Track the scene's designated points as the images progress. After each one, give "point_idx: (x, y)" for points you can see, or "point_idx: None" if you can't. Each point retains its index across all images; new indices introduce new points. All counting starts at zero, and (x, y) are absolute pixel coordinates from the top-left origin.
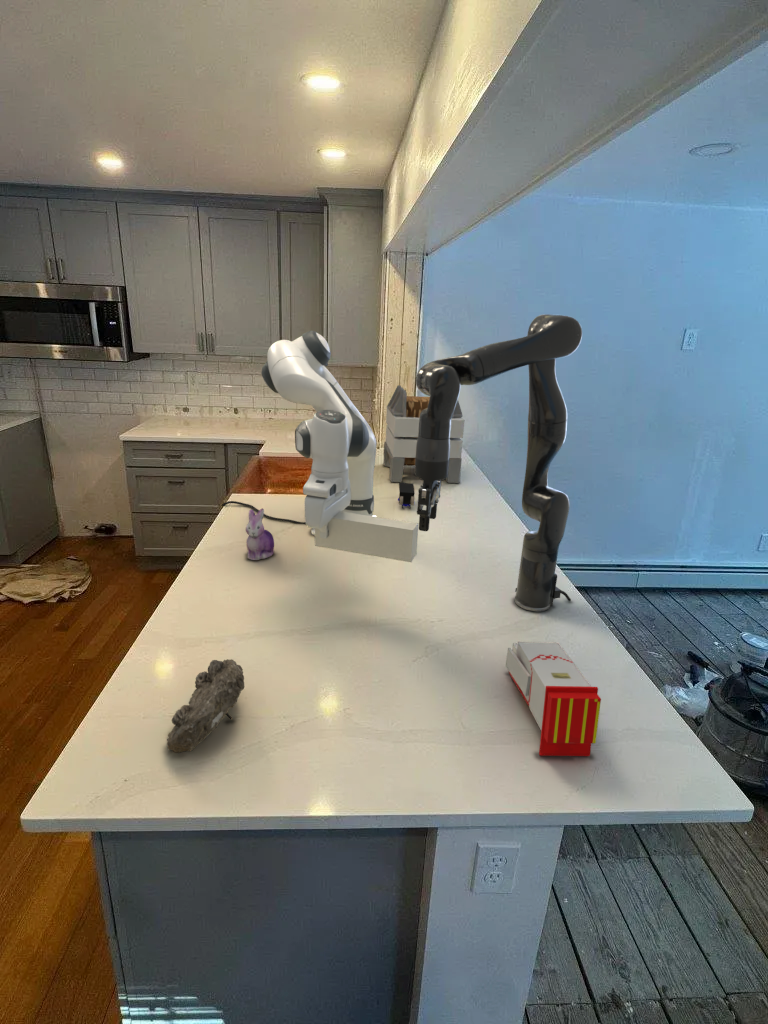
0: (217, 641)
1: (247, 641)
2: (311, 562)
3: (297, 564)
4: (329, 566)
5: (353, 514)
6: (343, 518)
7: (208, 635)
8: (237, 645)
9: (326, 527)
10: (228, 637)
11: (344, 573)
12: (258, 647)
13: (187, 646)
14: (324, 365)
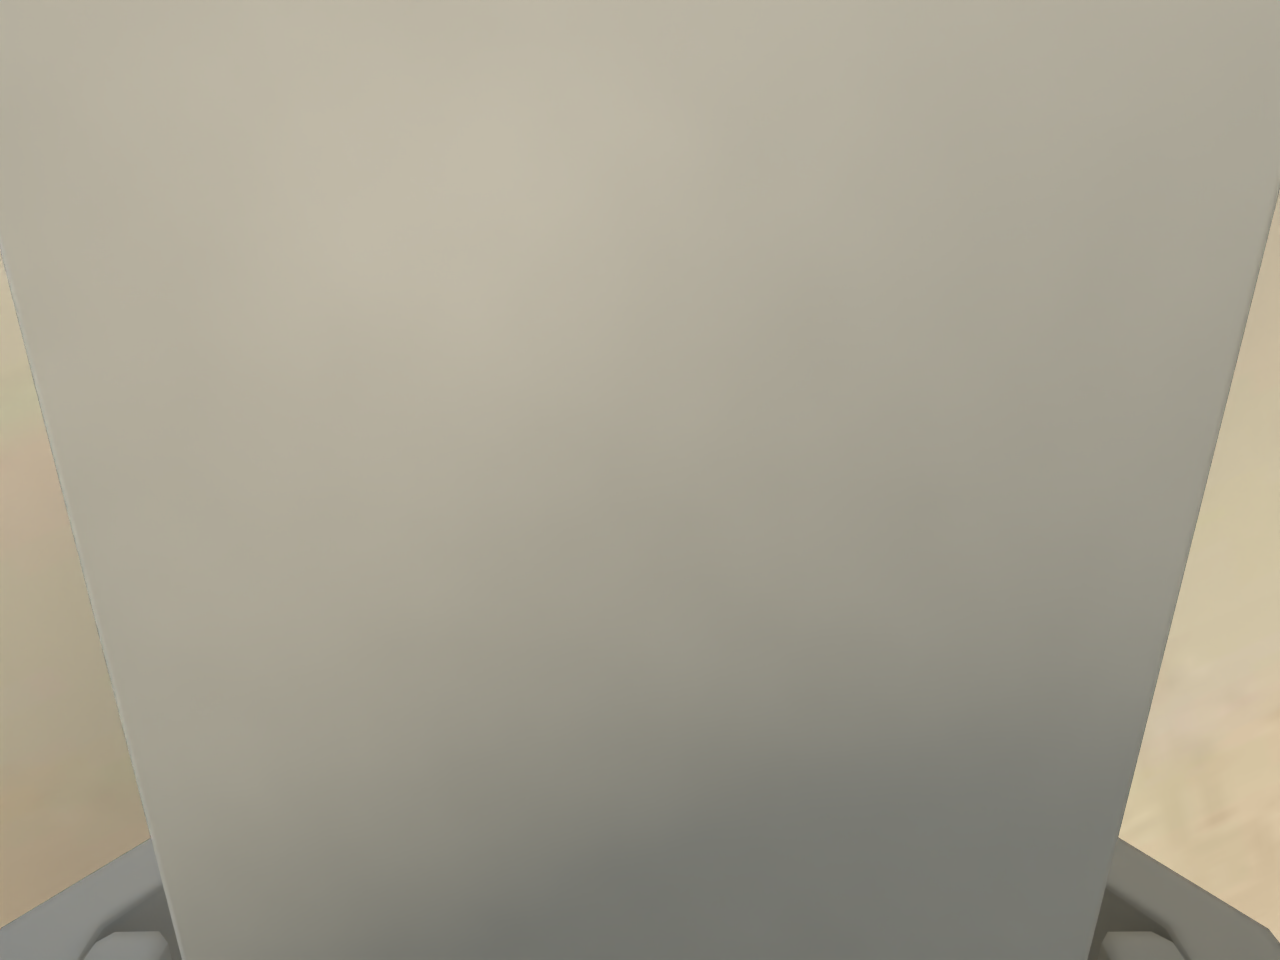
0: (1204, 774)
1: (1175, 640)
2: (41, 737)
3: (130, 801)
4: (14, 604)
5: (219, 453)
6: (1032, 695)
7: (1153, 838)
8: (1226, 668)
9: (1172, 902)
10: (1153, 746)
11: (46, 457)
12: (1229, 557)
13: (1275, 869)
14: None
